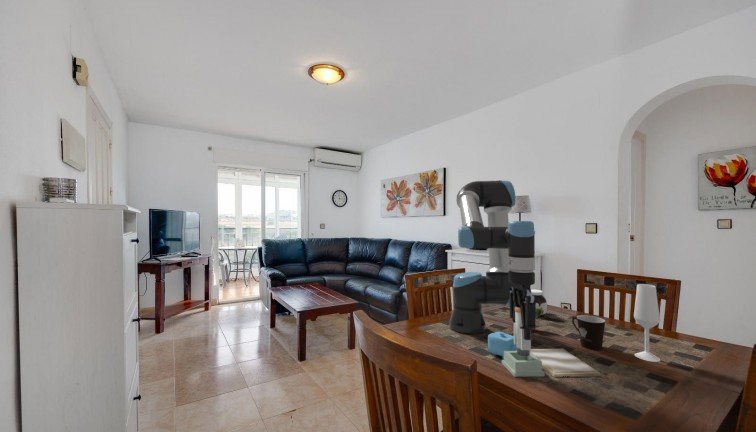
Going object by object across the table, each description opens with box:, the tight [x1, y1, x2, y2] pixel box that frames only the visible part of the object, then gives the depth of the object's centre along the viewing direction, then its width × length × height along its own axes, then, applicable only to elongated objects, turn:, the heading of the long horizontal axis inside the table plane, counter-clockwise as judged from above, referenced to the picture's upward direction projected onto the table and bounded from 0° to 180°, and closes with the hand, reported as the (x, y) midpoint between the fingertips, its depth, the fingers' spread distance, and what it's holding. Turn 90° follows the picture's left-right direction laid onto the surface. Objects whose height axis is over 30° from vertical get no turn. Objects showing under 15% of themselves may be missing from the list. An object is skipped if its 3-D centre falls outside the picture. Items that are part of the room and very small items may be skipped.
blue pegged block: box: [487, 330, 517, 360], centre depth 108 cm, size 12×6×8 cm, turn 37°
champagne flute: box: [633, 283, 661, 363], centre depth 107 cm, size 7×7×24 cm
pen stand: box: [501, 351, 545, 378], centre depth 98 cm, size 9×9×4 cm
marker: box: [515, 307, 530, 356], centre depth 98 cm, size 4×4×14 cm
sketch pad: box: [530, 348, 602, 378], centre depth 102 cm, size 18×14×1 cm
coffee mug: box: [571, 315, 606, 351], centre depth 117 cm, size 12×9×10 cm
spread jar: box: [531, 288, 548, 318], centre depth 156 cm, size 12×11×12 cm
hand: (522, 346), depth 98 cm, fingers closed on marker, 4 cm apart
